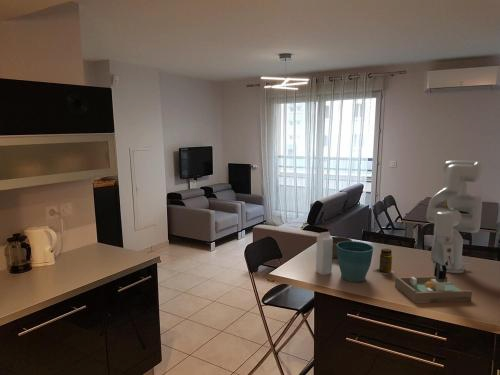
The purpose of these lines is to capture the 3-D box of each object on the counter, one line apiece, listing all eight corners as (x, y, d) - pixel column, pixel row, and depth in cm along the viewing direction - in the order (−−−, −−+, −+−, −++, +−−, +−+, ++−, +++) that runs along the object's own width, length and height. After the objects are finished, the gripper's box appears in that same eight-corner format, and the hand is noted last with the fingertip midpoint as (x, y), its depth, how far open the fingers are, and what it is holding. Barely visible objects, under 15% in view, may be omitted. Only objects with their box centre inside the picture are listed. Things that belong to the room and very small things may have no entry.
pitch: (445, 284, 177) (446, 275, 177) (471, 300, 159) (472, 290, 159) (394, 286, 175) (395, 276, 174) (414, 303, 157) (415, 292, 156)
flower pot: (379, 282, 179) (381, 249, 177) (347, 286, 174) (349, 252, 172) (358, 270, 196) (360, 239, 194) (329, 273, 191) (330, 242, 189)
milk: (331, 273, 192) (333, 233, 189) (322, 275, 189) (323, 234, 186) (324, 269, 197) (326, 230, 194) (315, 271, 195) (317, 231, 192)
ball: (430, 287, 169) (430, 279, 168) (435, 290, 165) (435, 282, 165) (423, 288, 168) (423, 280, 168) (428, 291, 165) (427, 283, 164)
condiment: (394, 272, 194) (396, 250, 193) (384, 275, 190) (386, 253, 188) (383, 268, 200) (384, 247, 199) (373, 271, 196) (374, 249, 194)
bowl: (318, 256, 219) (319, 240, 218) (330, 249, 233) (330, 234, 232) (346, 262, 209) (347, 245, 208) (356, 254, 224) (357, 238, 222)
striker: (448, 285, 170) (450, 260, 169) (455, 290, 165) (457, 263, 164) (430, 286, 169) (432, 260, 168) (436, 290, 165) (438, 264, 163)
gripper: (462, 243, 157) (459, 284, 159) (439, 234, 172) (436, 271, 175) (446, 244, 156) (443, 284, 158) (424, 234, 172) (421, 271, 174)
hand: (439, 277), depth 167 cm, fingers closed on striker, 2 cm apart
